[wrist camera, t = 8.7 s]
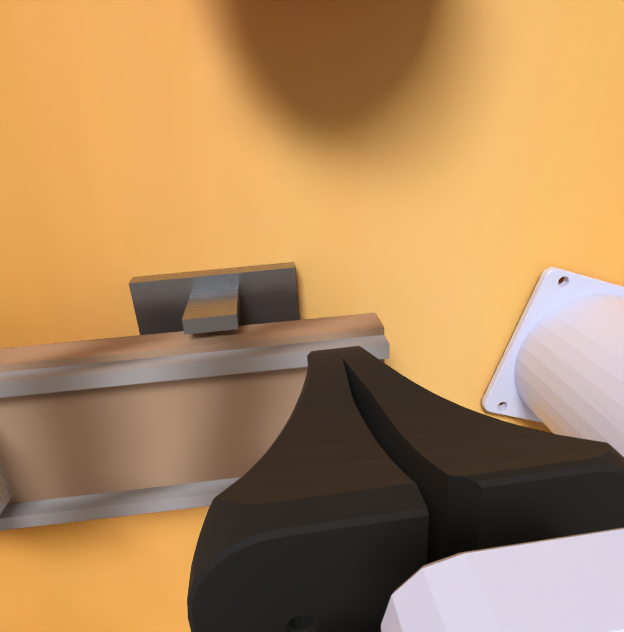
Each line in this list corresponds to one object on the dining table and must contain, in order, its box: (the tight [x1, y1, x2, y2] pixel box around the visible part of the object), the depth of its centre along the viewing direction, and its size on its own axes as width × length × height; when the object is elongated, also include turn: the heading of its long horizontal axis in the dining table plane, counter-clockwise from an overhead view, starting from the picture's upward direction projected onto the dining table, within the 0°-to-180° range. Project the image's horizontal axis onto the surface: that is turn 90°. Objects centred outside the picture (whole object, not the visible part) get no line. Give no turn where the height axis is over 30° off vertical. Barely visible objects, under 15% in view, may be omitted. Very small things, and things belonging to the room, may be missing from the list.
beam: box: [0, 313, 389, 531], centre depth 19 cm, size 23×7×4 cm, turn 94°
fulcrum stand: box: [129, 262, 299, 335], centre depth 22 cm, size 7×10×4 cm
